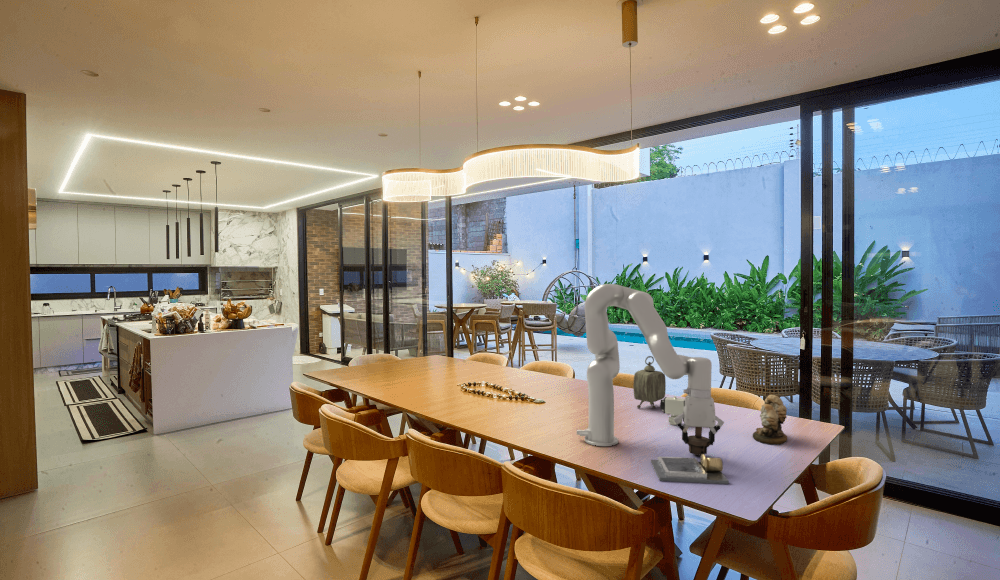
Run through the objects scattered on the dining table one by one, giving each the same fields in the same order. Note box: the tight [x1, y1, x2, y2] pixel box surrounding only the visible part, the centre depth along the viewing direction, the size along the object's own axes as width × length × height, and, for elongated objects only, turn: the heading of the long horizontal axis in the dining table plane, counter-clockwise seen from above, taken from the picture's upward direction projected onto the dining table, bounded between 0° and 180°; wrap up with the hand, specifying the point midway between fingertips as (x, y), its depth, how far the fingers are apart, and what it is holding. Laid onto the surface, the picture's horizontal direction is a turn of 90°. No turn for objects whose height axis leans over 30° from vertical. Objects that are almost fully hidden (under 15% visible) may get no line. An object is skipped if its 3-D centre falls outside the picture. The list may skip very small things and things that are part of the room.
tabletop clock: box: [632, 355, 667, 409], centre depth 244 cm, size 14×9×25 cm, turn 130°
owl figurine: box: [752, 394, 788, 446], centre depth 195 cm, size 18×12×17 cm, turn 150°
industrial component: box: [686, 427, 711, 456], centre depth 176 cm, size 9×7×12 cm
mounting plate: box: [650, 454, 730, 485], centre depth 160 cm, size 20×16×6 cm
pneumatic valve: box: [659, 395, 685, 426], centre depth 215 cm, size 6×12×12 cm, turn 61°
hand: (698, 443), depth 176 cm, fingers closed on industrial component, 8 cm apart
